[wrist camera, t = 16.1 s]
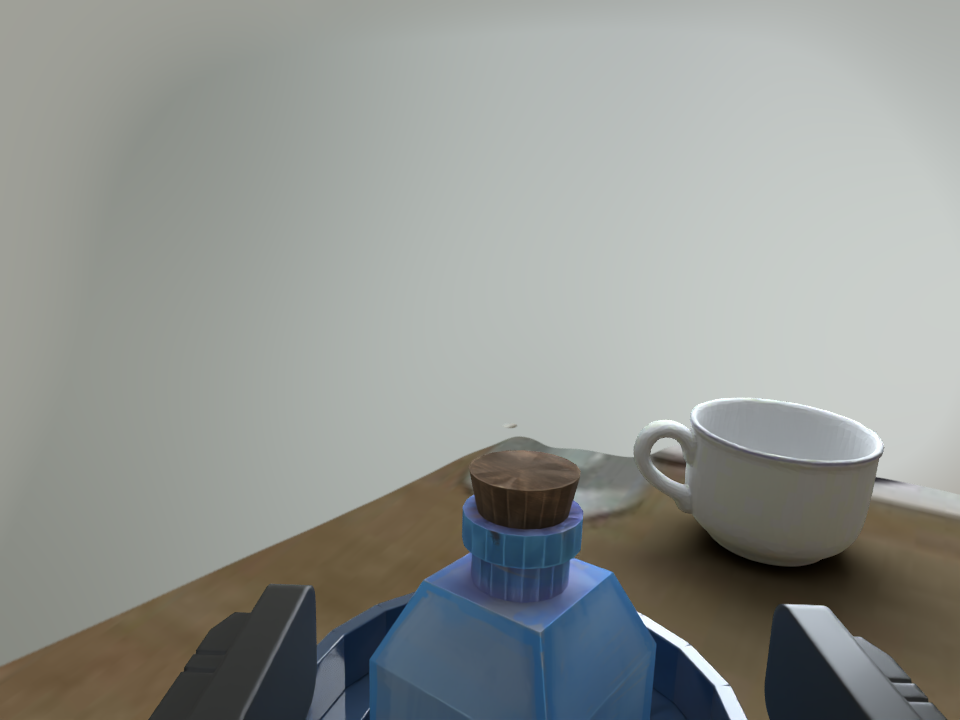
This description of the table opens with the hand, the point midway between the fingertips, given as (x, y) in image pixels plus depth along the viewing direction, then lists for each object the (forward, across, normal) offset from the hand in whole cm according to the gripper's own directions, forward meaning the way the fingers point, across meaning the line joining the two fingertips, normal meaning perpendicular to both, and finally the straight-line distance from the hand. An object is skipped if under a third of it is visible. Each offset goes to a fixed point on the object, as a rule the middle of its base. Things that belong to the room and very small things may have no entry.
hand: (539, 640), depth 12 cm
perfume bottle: (+8, 0, +12) cm, 14 cm away
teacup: (+30, -15, +13) cm, 36 cm away
